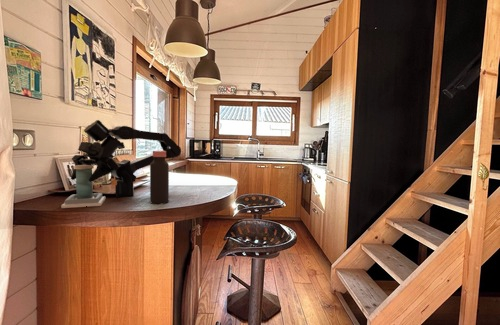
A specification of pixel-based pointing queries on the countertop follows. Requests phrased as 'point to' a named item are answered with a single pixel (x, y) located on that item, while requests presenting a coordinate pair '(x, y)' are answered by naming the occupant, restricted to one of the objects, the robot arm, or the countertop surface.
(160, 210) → the countertop surface
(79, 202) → the grey flat square tray
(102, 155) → the robot arm
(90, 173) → the bobbin
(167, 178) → the bottle
